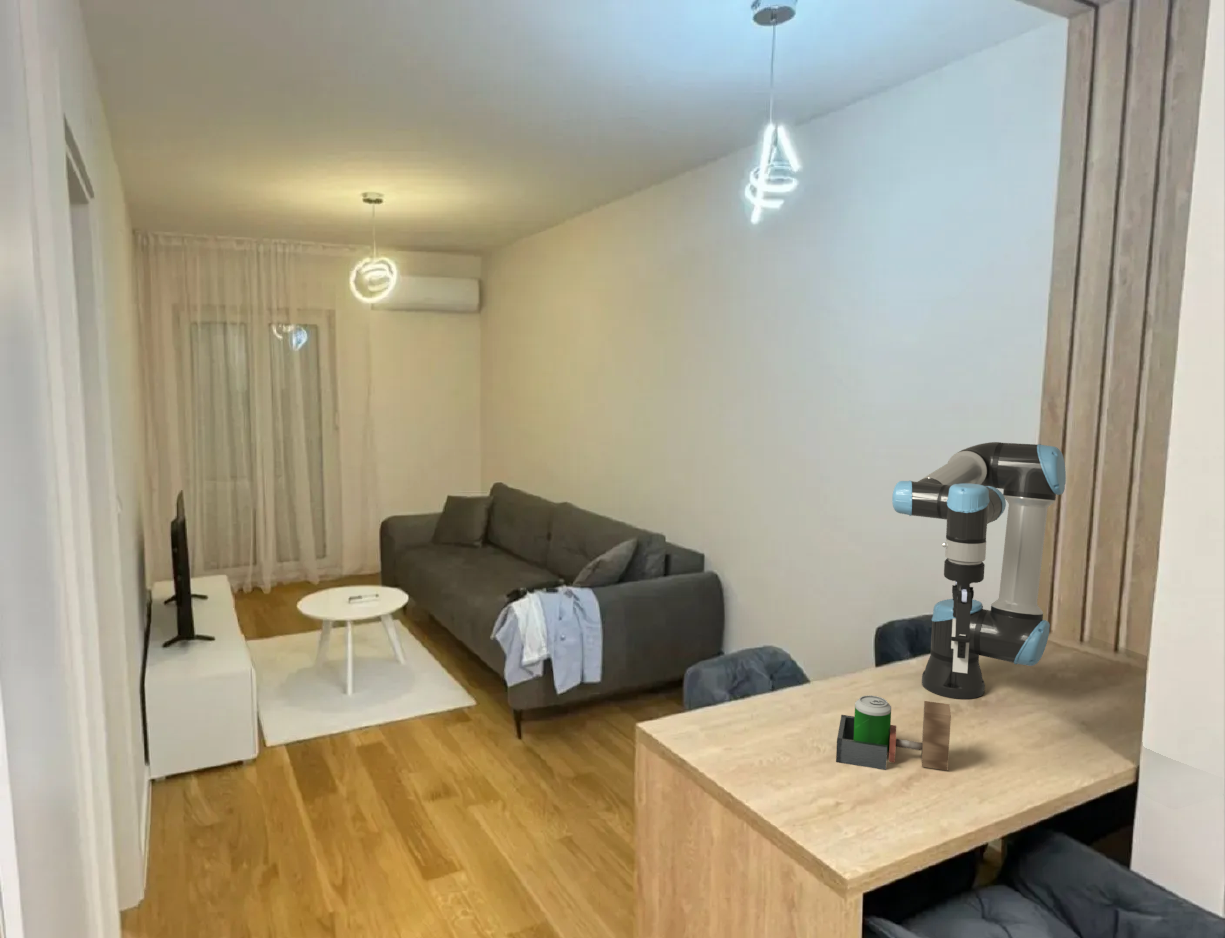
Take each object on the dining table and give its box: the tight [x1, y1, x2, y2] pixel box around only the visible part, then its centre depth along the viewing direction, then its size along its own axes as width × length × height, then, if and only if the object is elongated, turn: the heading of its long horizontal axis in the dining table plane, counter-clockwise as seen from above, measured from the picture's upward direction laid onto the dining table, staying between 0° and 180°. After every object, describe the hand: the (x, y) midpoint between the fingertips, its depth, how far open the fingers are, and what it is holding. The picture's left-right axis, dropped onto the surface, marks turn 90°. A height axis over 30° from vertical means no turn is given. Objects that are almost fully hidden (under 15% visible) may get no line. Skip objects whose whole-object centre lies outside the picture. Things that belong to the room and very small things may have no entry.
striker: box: [888, 700, 952, 772], centre depth 172 cm, size 12×7×12 cm, turn 70°
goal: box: [835, 714, 888, 771], centre depth 177 cm, size 10×13×5 cm
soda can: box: [853, 695, 892, 755], centre depth 176 cm, size 8×8×12 cm
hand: (958, 660), depth 168 cm, fingers open, 13 cm apart
